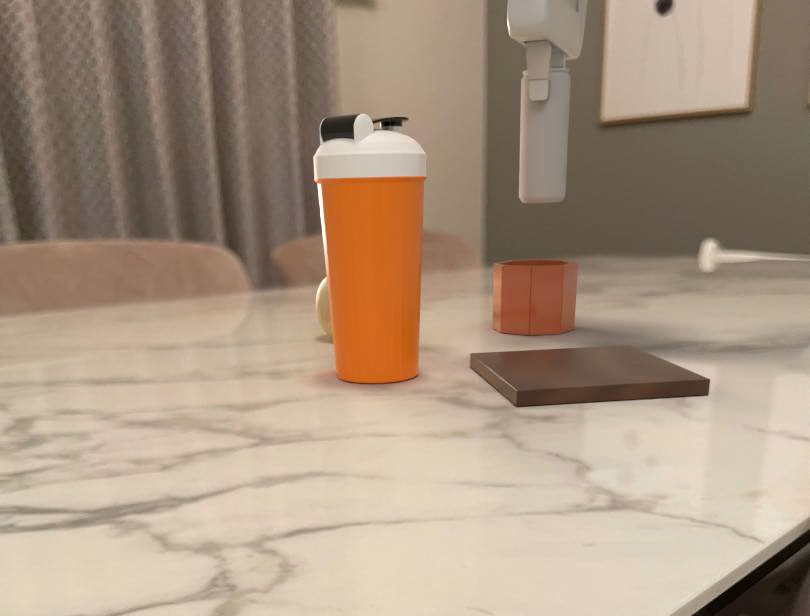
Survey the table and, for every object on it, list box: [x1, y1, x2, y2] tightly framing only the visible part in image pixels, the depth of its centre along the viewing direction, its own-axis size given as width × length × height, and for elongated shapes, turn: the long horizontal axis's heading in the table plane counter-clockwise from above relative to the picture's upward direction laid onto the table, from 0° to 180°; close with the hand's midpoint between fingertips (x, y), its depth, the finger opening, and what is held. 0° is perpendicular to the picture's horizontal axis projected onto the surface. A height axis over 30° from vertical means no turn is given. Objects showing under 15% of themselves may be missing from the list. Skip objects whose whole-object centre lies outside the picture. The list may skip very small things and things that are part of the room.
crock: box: [492, 258, 579, 336], centre depth 92 cm, size 8×8×7 cm
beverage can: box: [518, 67, 572, 204], centre depth 85 cm, size 5×5×12 cm
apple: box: [315, 276, 333, 338], centre depth 90 cm, size 8×8×8 cm
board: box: [469, 344, 711, 407], centre depth 69 cm, size 15×15×1 cm
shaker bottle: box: [312, 113, 428, 384], centre depth 69 cm, size 9×9×20 cm
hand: (545, 103), depth 84 cm, fingers closed on beverage can, 5 cm apart
